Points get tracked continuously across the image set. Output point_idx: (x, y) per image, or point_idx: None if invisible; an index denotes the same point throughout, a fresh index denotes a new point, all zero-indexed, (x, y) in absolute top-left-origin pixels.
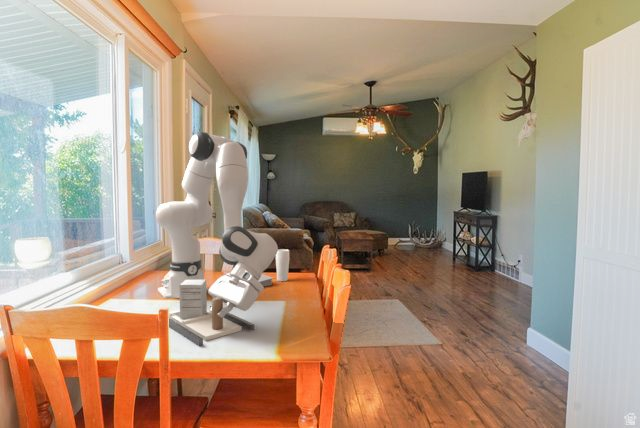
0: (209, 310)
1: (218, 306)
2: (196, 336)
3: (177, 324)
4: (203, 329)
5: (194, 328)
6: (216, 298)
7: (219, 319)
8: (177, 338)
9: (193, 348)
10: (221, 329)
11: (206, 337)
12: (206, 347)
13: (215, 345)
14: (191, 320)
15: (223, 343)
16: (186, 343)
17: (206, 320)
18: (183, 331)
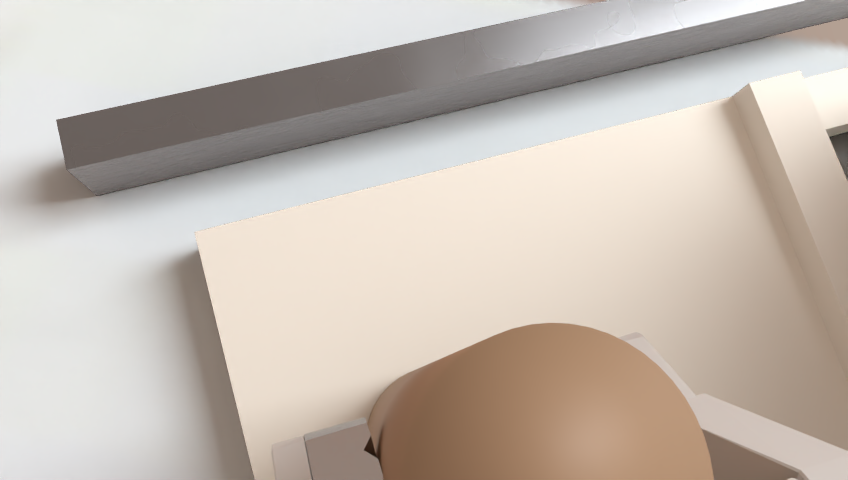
0: (631, 333)
1: (389, 465)
2: (189, 116)
3: (693, 7)
4: (459, 259)
5: (538, 170)
6: (631, 469)
7: None
8: (444, 9)
9: (83, 94)
10: None
11: (200, 246)
12: (30, 219)
13: (29, 323)
14: (780, 173)
15: (35, 425)
16: (261, 59)
17: (775, 362)
18: (472, 37)
